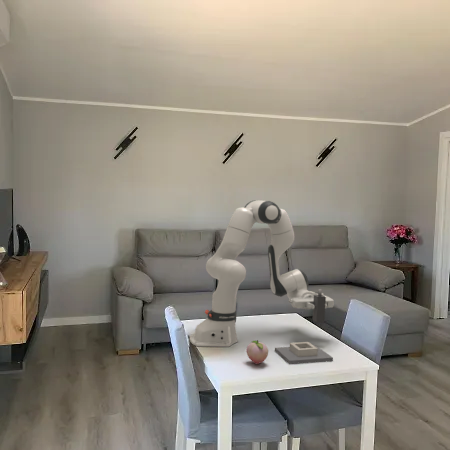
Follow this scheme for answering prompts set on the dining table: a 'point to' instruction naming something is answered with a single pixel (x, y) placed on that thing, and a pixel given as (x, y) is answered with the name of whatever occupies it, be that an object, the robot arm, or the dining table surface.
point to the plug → (319, 307)
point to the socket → (303, 353)
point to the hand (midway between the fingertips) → (320, 307)
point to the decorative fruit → (257, 351)
